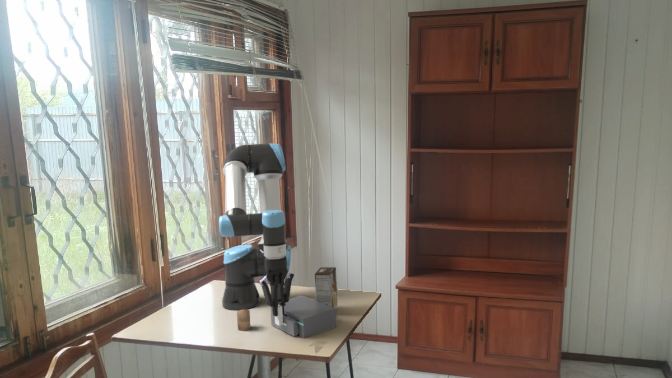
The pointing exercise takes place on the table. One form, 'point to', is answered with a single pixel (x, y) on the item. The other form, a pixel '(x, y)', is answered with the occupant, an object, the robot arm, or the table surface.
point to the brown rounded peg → (243, 320)
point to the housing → (310, 315)
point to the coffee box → (326, 286)
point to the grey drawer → (286, 325)
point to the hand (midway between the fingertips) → (279, 324)
